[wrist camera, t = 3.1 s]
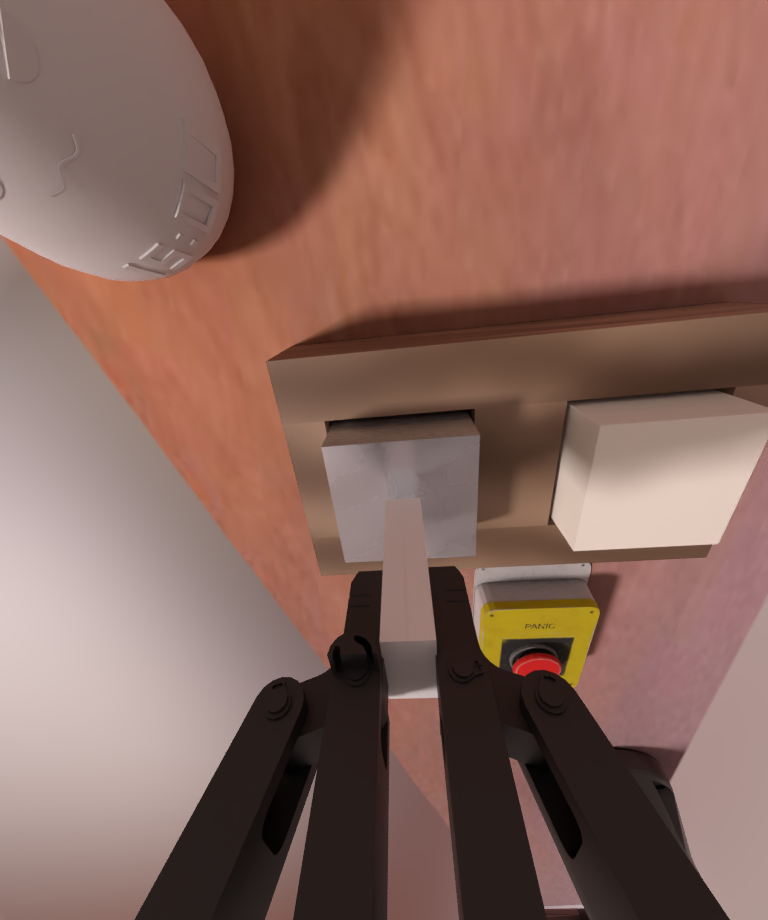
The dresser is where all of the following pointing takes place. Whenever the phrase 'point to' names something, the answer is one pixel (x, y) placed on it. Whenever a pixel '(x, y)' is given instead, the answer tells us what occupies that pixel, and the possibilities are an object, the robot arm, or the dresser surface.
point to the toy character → (109, 138)
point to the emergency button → (535, 617)
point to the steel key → (404, 479)
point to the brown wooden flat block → (511, 408)
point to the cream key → (654, 468)
